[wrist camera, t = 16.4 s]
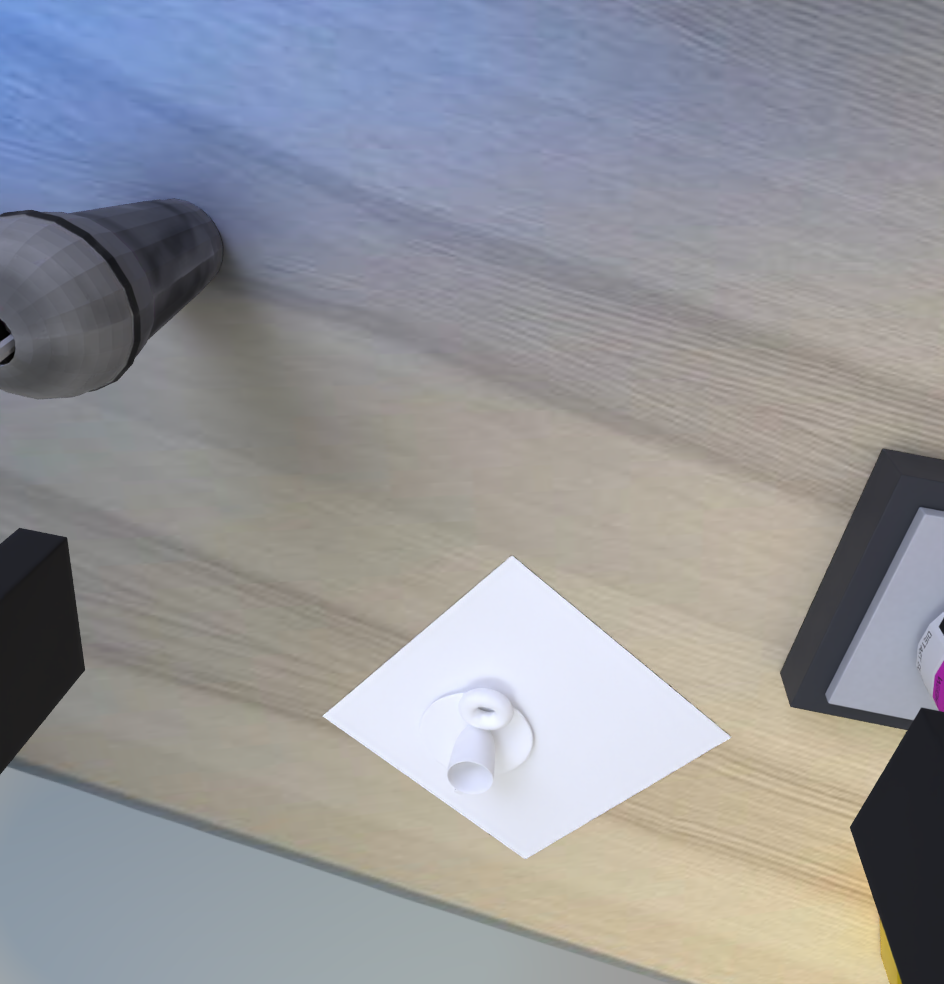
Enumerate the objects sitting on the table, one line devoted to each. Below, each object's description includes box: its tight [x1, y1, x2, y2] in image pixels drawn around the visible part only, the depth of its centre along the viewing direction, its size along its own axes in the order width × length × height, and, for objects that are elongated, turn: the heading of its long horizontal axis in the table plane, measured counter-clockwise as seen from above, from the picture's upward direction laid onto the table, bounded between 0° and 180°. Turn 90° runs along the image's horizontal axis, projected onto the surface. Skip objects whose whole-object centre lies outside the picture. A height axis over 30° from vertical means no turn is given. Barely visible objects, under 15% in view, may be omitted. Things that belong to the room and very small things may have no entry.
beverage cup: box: [0, 199, 223, 399], centre depth 33 cm, size 7×7×20 cm
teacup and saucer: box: [418, 687, 534, 796], centre depth 54 cm, size 9×8×4 cm
